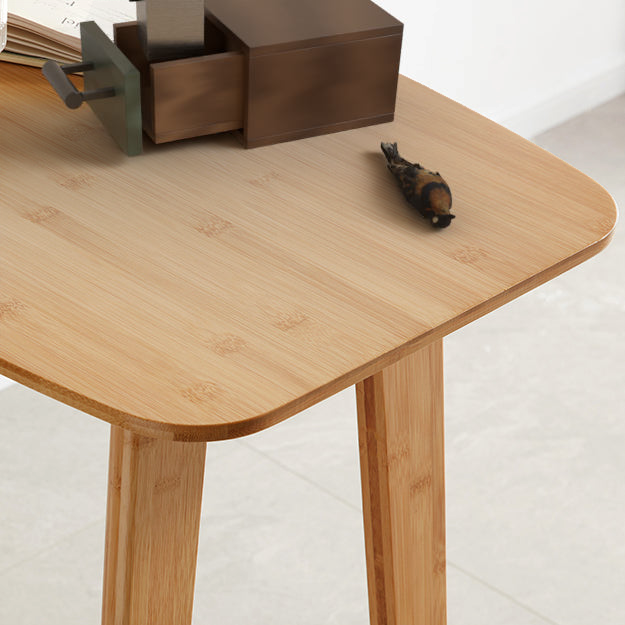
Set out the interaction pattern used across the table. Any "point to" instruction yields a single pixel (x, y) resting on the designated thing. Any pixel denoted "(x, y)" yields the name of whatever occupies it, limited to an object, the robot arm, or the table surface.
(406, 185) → the bird model
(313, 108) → the cabinet
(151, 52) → the steel tin
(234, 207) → the table surface
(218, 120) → the drawer
